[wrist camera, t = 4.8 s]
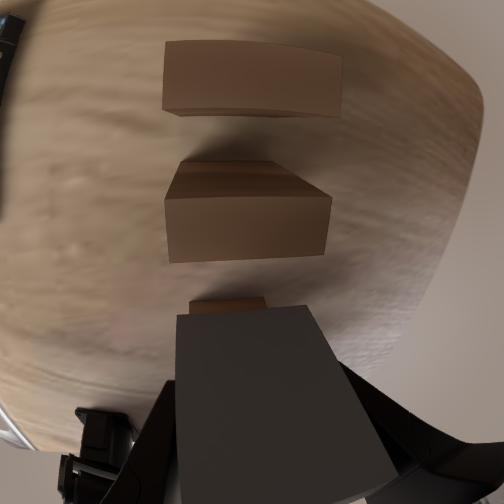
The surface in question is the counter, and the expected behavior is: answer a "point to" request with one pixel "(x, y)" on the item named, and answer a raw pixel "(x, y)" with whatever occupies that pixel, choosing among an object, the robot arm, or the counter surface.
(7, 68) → the disk drive
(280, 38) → the counter surface
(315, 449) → the domino
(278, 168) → the domino
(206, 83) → the domino
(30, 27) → the counter surface
